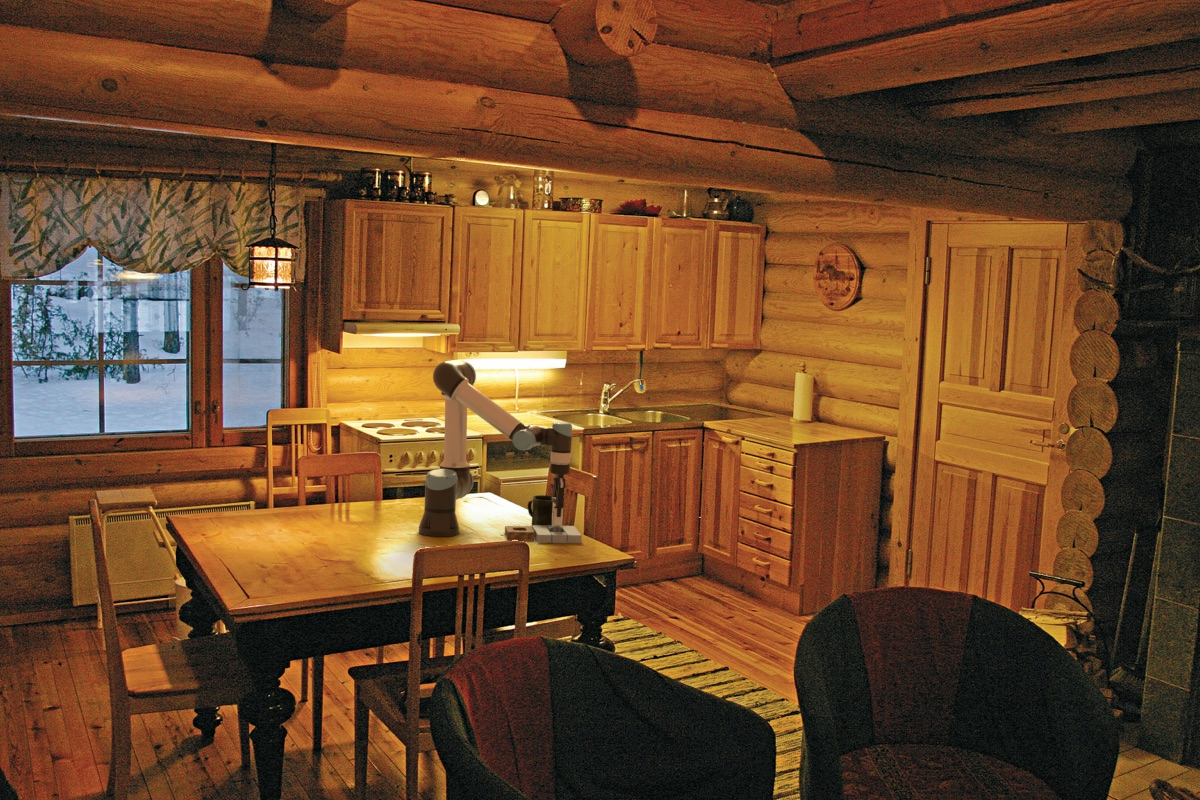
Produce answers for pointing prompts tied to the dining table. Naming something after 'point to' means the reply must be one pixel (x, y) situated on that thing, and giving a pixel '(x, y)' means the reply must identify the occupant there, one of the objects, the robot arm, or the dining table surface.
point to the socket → (556, 534)
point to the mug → (541, 510)
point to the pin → (554, 527)
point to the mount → (519, 532)
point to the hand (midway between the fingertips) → (556, 523)
